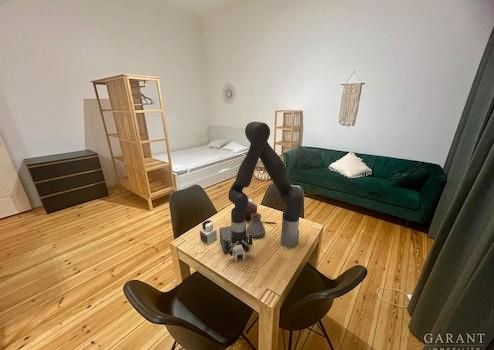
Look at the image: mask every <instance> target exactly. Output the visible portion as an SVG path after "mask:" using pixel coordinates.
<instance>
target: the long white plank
mask: <svg viewBox="0 0 494 350" xmlns="http://www.w3.org/2000/svg"><path fill="white" fill-rule="evenodd" d="M231 242H232V241H230V243H229V245H230V244H231ZM245 252H246V250H245V249H244V247H243V244H241V245H236V246H235V247H234V248H233V249H232V253H233V256H232V257H233V258H234V261H235V262H238V256H241V257H242V260H245V259H246V253H245Z"/></svg>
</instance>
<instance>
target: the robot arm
mask: <svg viewBox="0 0 494 350" xmlns="http://www.w3.org/2000/svg"><path fill="white" fill-rule="evenodd" d="M244 132H245V137H246V139H247V140H248V142H249V144H250V145H249V149H248V151H247V153H246V155H245V157H244V158H243V160H242V162H241V163H240V165H239V167H238V168H239V169H238V170H237V174H236V178H235V179H234V180H235V181H234V182H233V183H232V185H231V187H230V189H229V192H228V196H227V197H228V200H229V201H230V202H231V203H232V204H233V205H234V207H233V208H232V209H231V212H230V214H231V215H230V218H231V219H230V220H231V221H230V226H231V238H230V239H228V238H226V239H225V248H226V252H227V251H228V253H229V256H230V257H234V256H233V253H232V249H233V248H234V247H235V246H236V245H244V244H245V245H246V247H245V252H246V253H248V252H249V251H250V246H253V237H252V235H251V233H249V234H248V235H246V231H247V220H246V210H247V206H248V198H249V197H248V195H247V194H246V193H245V192H243V190H244V188H249V187H250V185H251V182H252V179H253V177H254V172H255V169H256V167H257V164H258V162H259V161H260V162H261V163H262V165H263V167H264V169H265V172H266V173H267V174H268V176H269V178H270V180H271V181H272V183H273V184H274V185H275V187H276V189H277V191H278V193H279V196H280V199H281V201H282V203H283V204H285V206H286V209H285V210H284V211H282V217H281V231H280V232H281V233H280V245H282V246H283V247H284V248H287V249H292V248H293V249H294V248H295V247H296V246H297V245H299V238H300V229H299V226H300V225H299V224H300V218H301V215H302V212H303V207H304V198H303V196H302V195H301V194H300V193H299V192H298V191H297V190H295V189H294V188H293V186H292V184H291V183H290V181H289V177H288V176H289V175H288V170H287V167H286V166H285V163H284V161H283V160H282V158H281V156H280V155H279V154H278V153H277V152H276V151H275V150H274V148H273V147H271V144H270V143H269V140H270V139H269V138H270V135H271V129H270V126H269V125H268V124H267V123H266V122H262V121H251V122H248V123H247V124H246V126H245V128H244ZM247 237H248V242H247V241H246V239H247ZM230 241H232V242H231V244H230V245H229V243H230ZM245 245H244V246H245Z"/></svg>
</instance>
